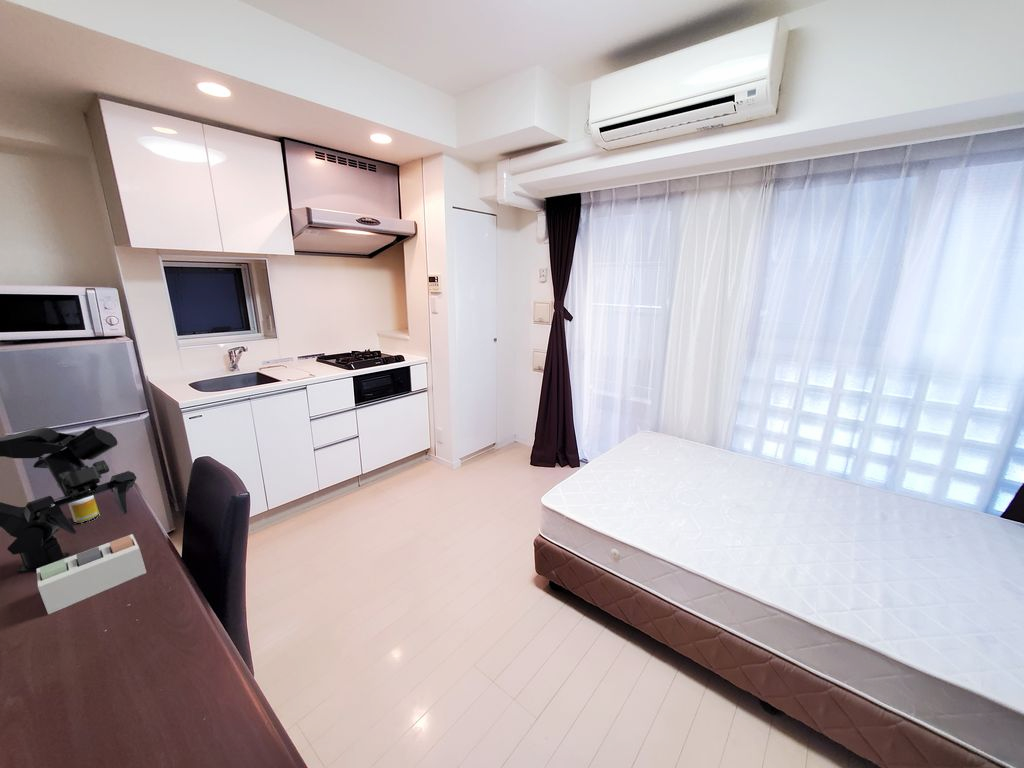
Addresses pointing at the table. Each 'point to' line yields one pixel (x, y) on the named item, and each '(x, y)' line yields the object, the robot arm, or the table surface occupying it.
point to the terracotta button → (121, 544)
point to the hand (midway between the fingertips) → (101, 522)
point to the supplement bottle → (84, 509)
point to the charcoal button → (88, 556)
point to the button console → (90, 576)
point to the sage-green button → (53, 569)
